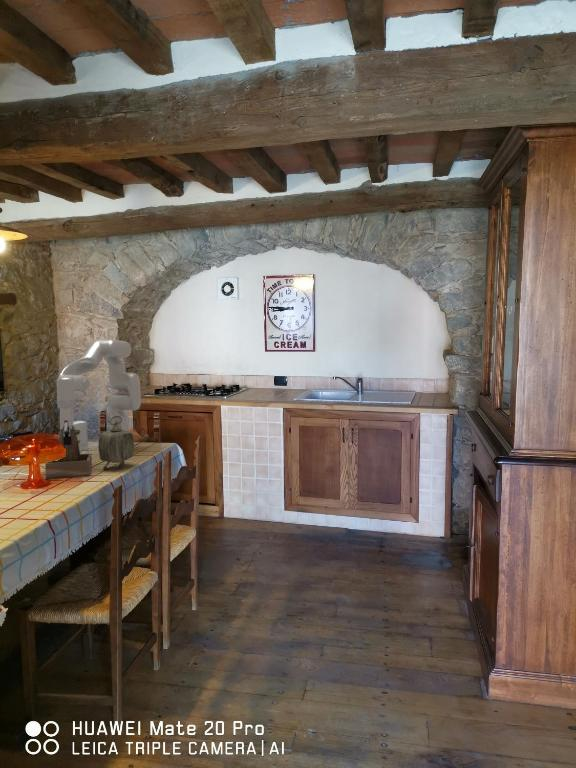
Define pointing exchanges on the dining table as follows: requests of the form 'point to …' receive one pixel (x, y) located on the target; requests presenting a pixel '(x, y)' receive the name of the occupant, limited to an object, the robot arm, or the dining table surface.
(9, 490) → the dining table surface
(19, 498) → the dining table surface
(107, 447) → the tabletop clock
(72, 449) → the brown tall tapered piece
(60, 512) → the dining table surface
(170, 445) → the dining table surface
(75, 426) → the skincare box
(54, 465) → the walled box
